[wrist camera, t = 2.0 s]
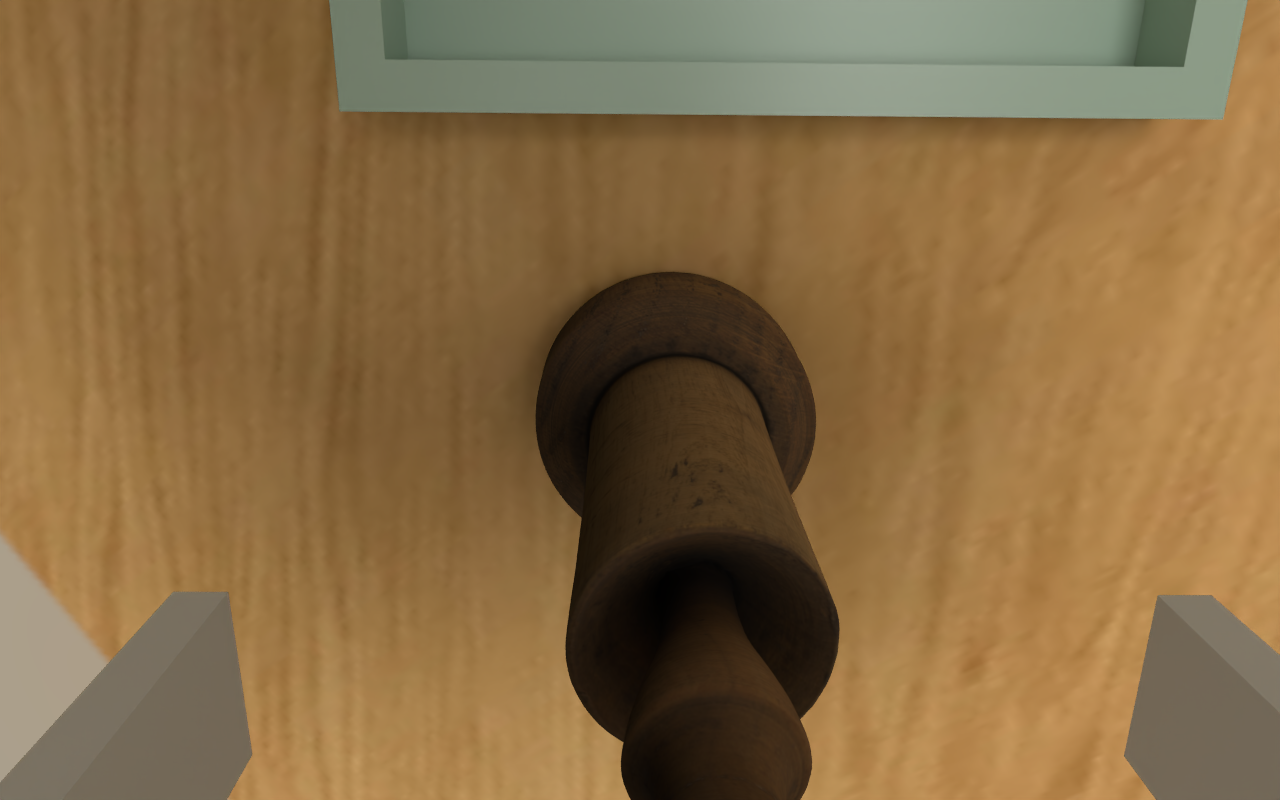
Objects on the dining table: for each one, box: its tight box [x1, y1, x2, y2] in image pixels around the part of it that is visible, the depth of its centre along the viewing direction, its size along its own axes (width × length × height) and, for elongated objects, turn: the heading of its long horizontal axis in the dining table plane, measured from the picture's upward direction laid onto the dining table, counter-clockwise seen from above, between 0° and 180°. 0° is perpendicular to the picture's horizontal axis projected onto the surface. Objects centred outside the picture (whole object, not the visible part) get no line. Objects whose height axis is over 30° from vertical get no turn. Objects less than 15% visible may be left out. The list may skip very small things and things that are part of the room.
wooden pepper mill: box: [536, 272, 839, 800], centre depth 15 cm, size 7×6×18 cm
